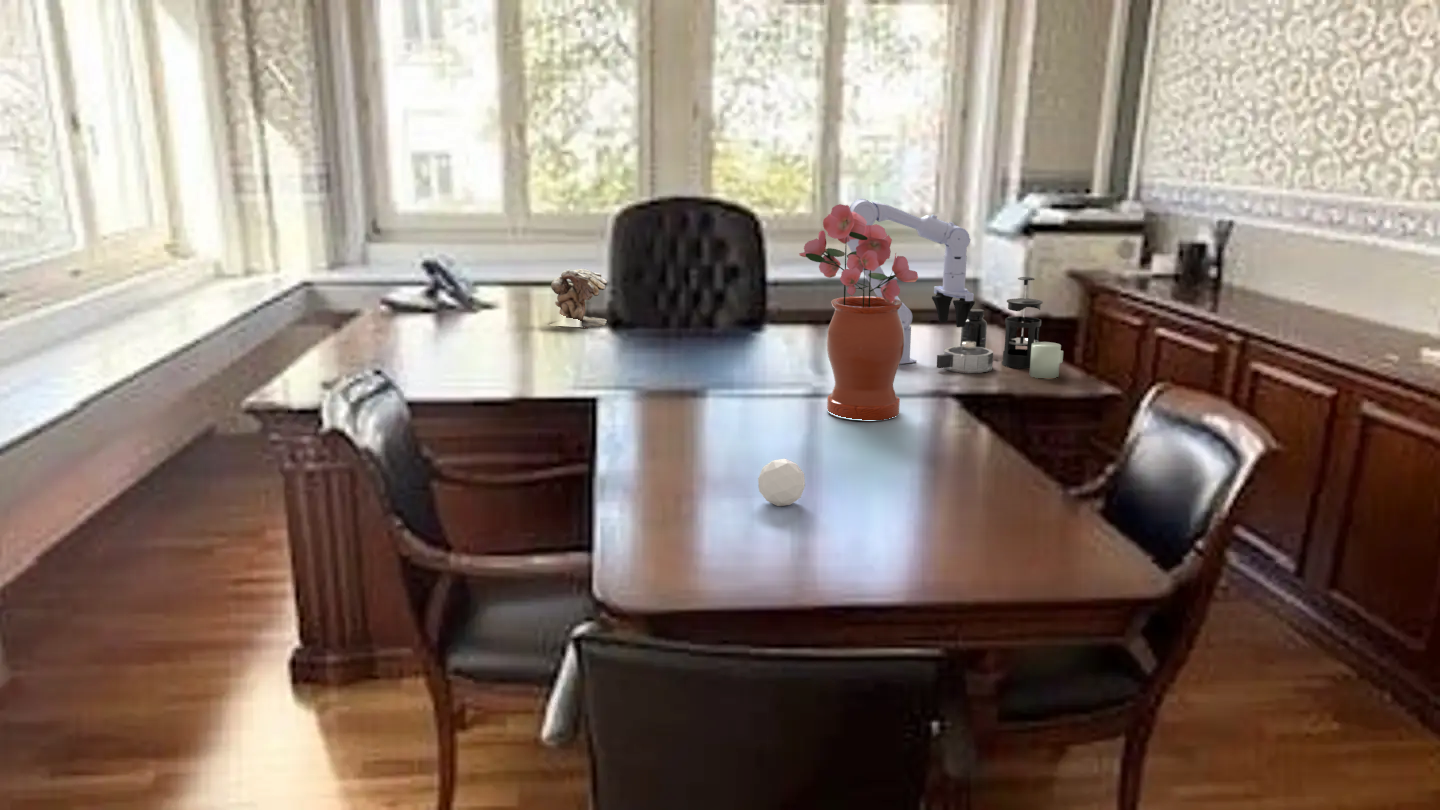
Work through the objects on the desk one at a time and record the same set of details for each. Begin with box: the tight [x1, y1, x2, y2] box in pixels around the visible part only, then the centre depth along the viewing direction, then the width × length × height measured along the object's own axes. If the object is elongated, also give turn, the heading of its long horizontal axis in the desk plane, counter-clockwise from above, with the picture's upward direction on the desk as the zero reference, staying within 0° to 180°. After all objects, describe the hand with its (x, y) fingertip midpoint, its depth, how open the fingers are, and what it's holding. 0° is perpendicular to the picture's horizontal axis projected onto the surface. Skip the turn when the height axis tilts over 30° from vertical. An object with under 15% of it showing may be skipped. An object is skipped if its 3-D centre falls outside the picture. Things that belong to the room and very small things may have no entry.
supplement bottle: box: [959, 308, 988, 348], centre depth 288 cm, size 7×7×12 cm
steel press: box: [936, 345, 994, 374], centre depth 270 cm, size 15×12×5 cm
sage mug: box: [1028, 341, 1064, 379], centre depth 262 cm, size 9×7×8 cm
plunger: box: [962, 341, 976, 355], centre depth 271 cm, size 9×9×6 cm
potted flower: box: [798, 203, 919, 421], centre depth 226 cm, size 19×25×45 cm
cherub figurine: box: [550, 268, 608, 329], centre depth 335 cm, size 18×18×18 cm
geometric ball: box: [757, 458, 806, 507], centre depth 174 cm, size 8×8×8 cm
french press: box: [1001, 276, 1044, 370], centre depth 273 cm, size 12×9×23 cm
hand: (951, 324), depth 277 cm, fingers open, 7 cm apart
